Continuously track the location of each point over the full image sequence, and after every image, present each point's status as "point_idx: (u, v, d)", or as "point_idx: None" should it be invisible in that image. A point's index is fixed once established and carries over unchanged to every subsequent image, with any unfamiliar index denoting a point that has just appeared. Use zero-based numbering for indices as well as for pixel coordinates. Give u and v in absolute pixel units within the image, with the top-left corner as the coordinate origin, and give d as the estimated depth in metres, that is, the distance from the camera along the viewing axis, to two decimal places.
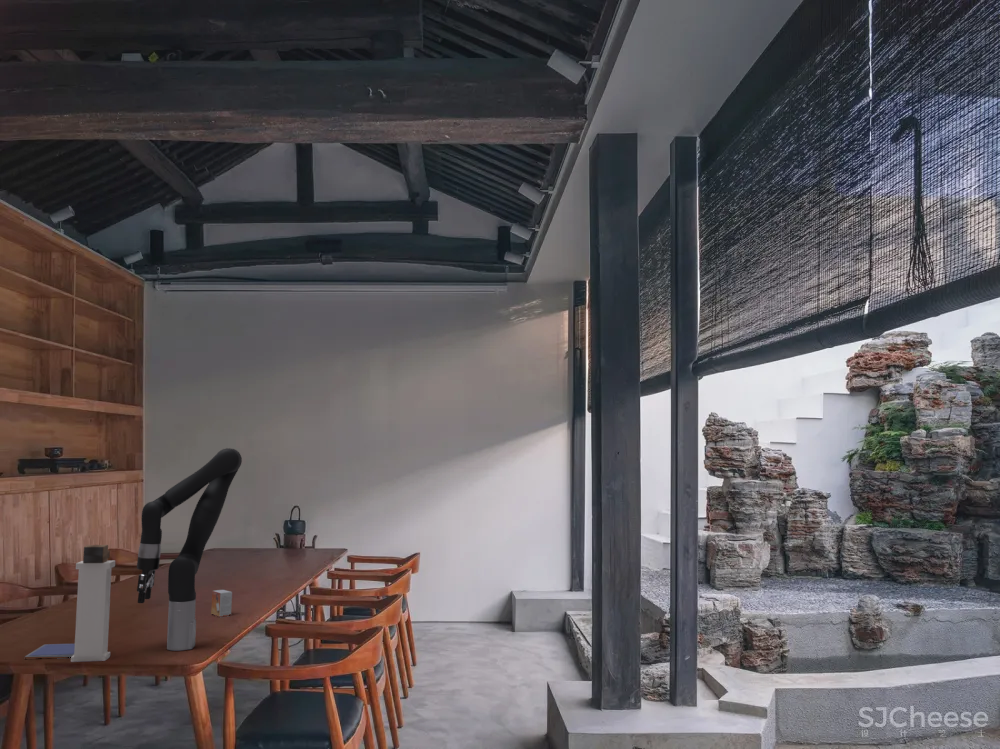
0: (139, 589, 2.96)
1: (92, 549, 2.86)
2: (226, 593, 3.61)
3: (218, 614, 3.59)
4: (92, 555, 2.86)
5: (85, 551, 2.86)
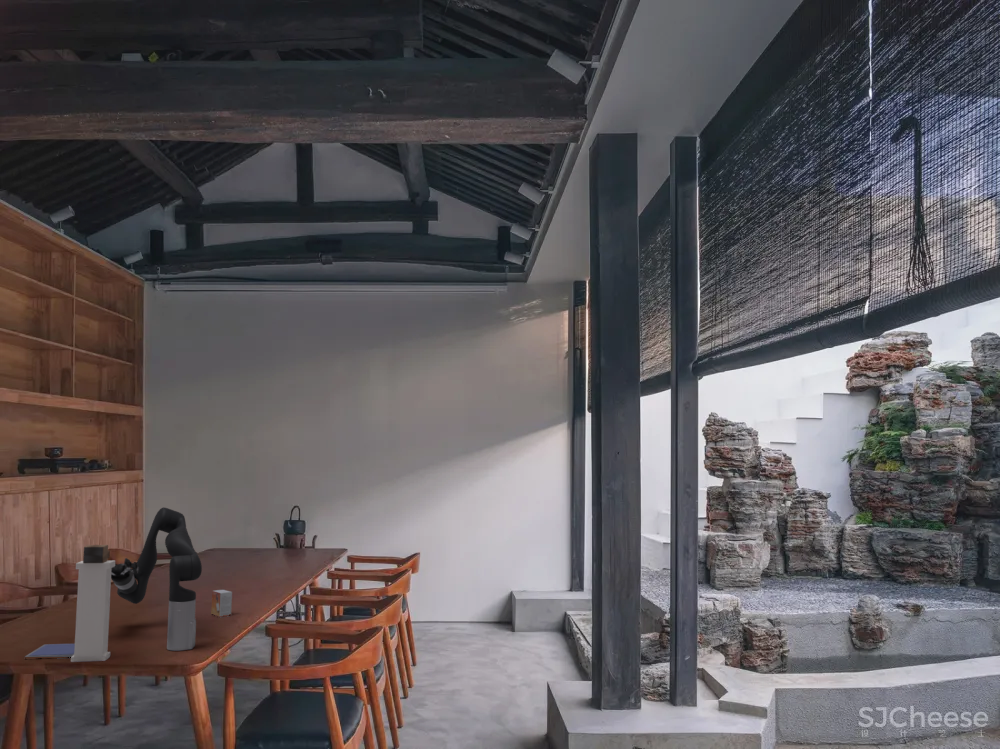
0: None
1: (92, 549, 2.86)
2: (226, 593, 3.61)
3: (218, 614, 3.59)
4: (92, 555, 2.86)
5: (85, 551, 2.86)
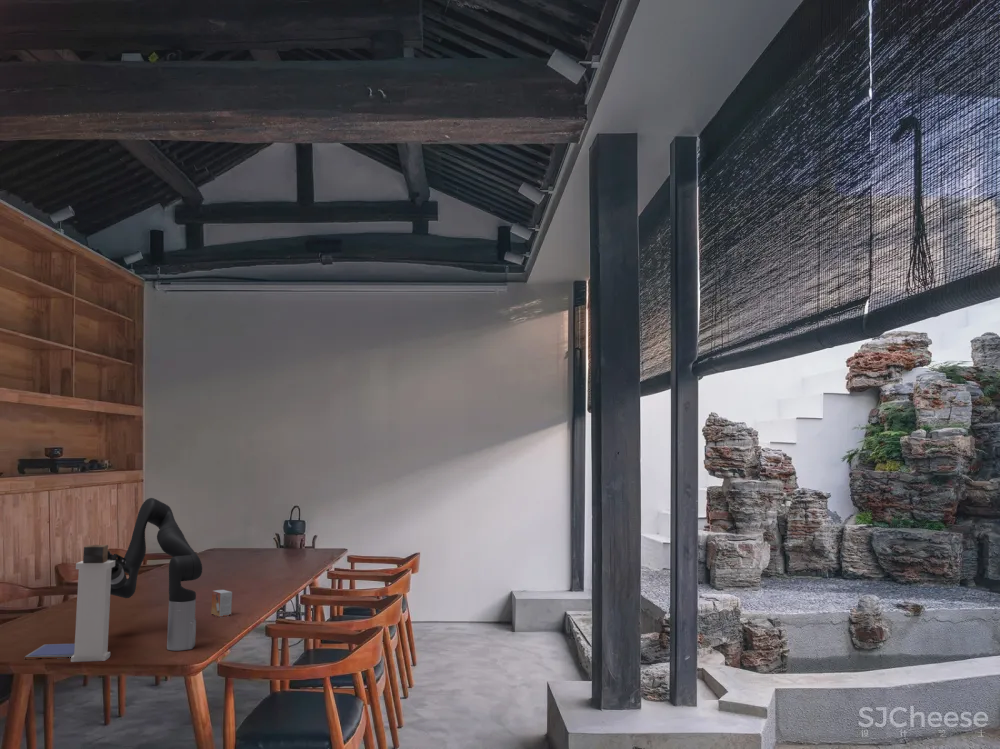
0: None
1: (92, 549, 2.86)
2: (226, 593, 3.61)
3: (218, 614, 3.59)
4: (92, 555, 2.86)
5: (85, 551, 2.86)
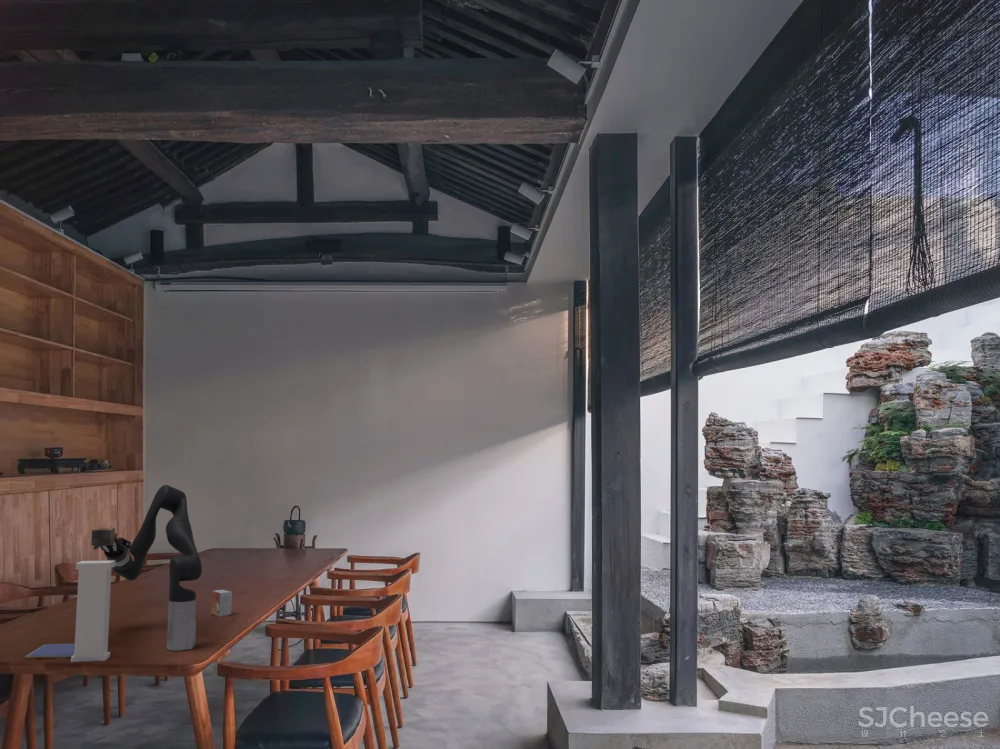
0: None
1: (100, 532, 2.98)
2: (226, 593, 3.61)
3: (218, 614, 3.59)
4: (99, 537, 2.98)
5: (93, 534, 2.98)
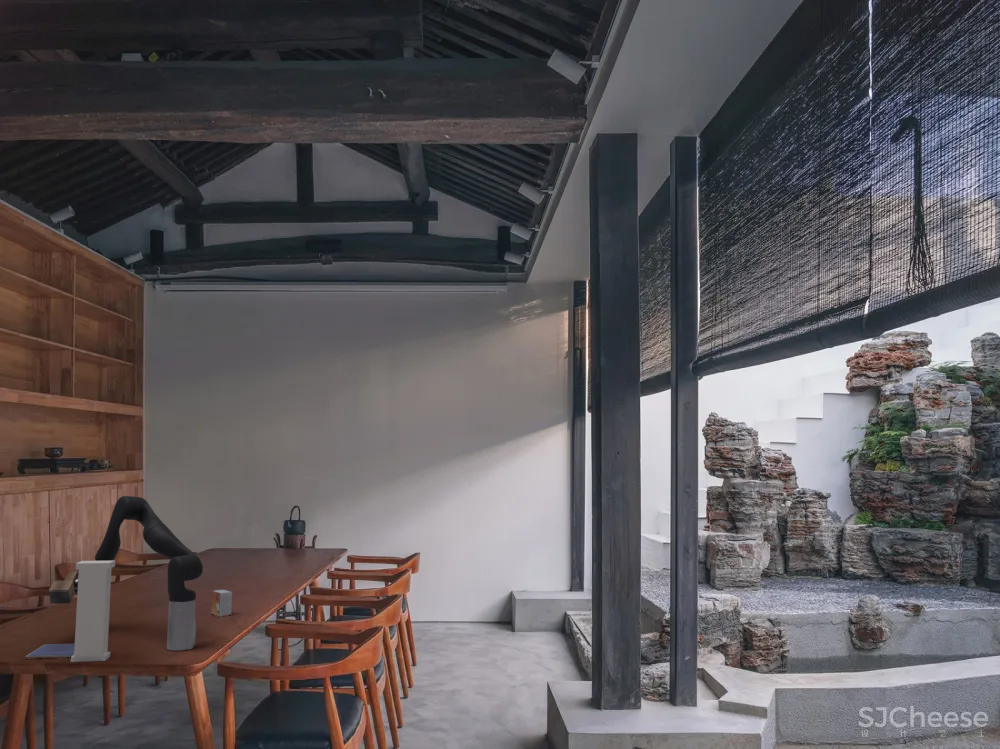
0: None
1: (57, 593, 2.92)
2: (226, 593, 3.61)
3: (218, 614, 3.59)
4: (58, 597, 2.93)
5: (51, 594, 2.92)
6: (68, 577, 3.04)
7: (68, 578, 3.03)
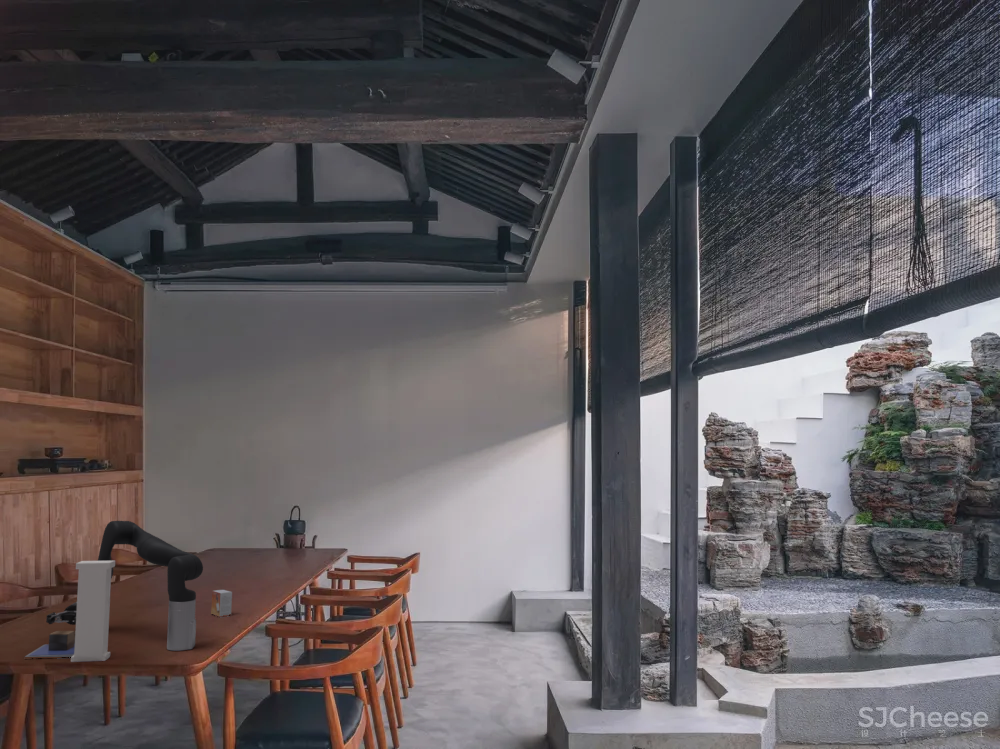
0: None
1: (57, 636, 2.94)
2: (226, 593, 3.61)
3: (218, 614, 3.59)
4: (56, 642, 2.93)
5: (50, 638, 2.93)
6: None
7: None
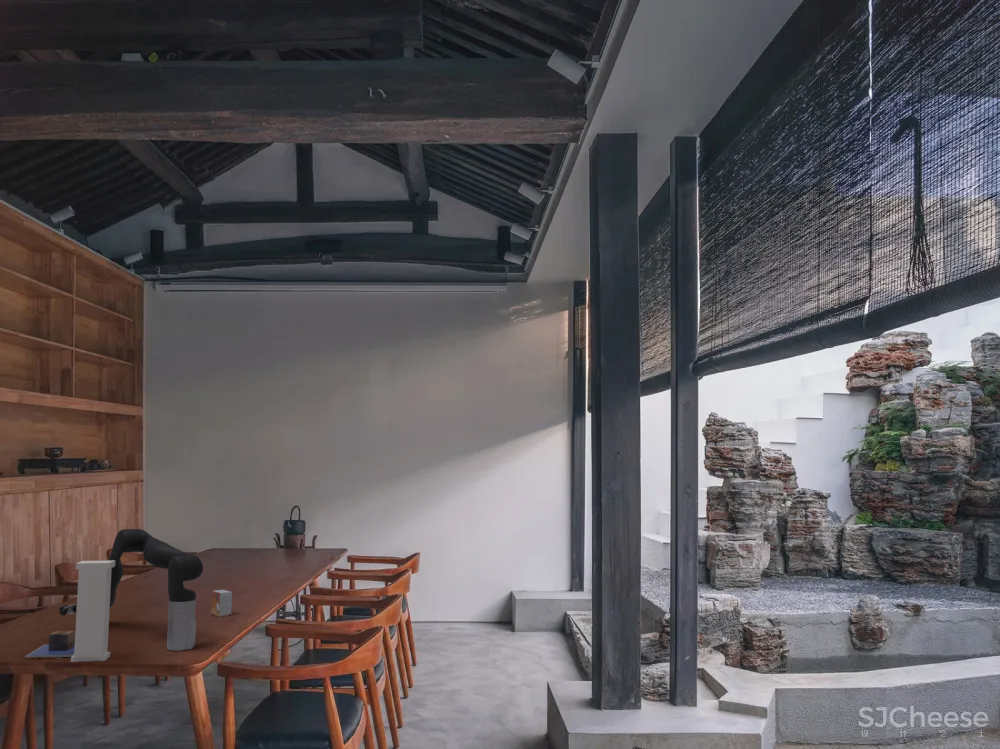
0: None
1: (57, 636, 2.94)
2: (226, 593, 3.61)
3: (218, 614, 3.59)
4: (56, 642, 2.93)
5: (50, 638, 2.93)
6: None
7: None
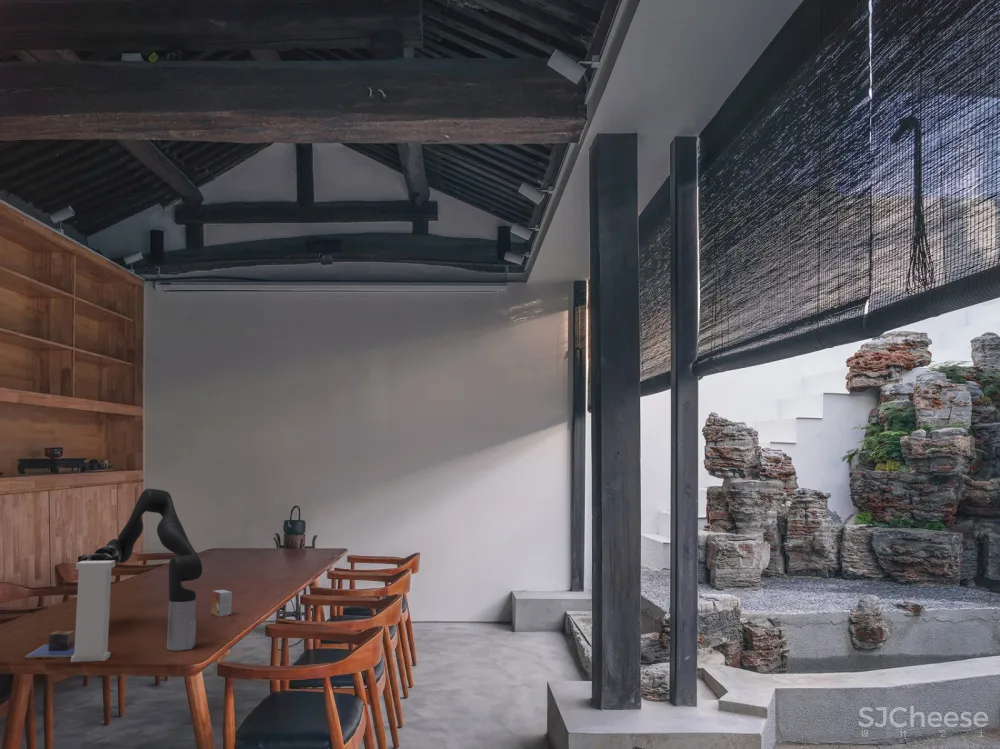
0: None
1: (57, 636, 2.94)
2: (226, 593, 3.61)
3: (218, 614, 3.59)
4: (56, 642, 2.93)
5: (50, 638, 2.93)
6: None
7: None
